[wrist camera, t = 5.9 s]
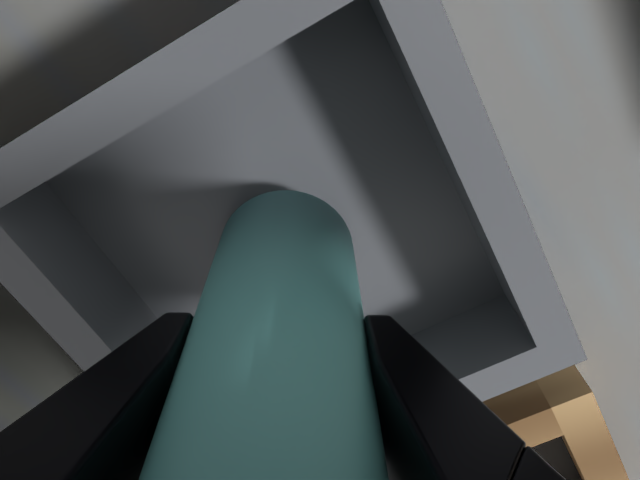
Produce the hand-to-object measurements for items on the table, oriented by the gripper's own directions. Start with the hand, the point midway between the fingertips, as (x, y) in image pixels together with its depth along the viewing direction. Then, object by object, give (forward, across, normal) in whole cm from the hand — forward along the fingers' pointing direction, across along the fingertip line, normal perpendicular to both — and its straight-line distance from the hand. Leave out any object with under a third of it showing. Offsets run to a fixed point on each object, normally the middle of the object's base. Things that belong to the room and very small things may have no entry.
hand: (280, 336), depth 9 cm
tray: (+4, 0, 0) cm, 4 cm away
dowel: (+3, 0, 0) cm, 3 cm away
